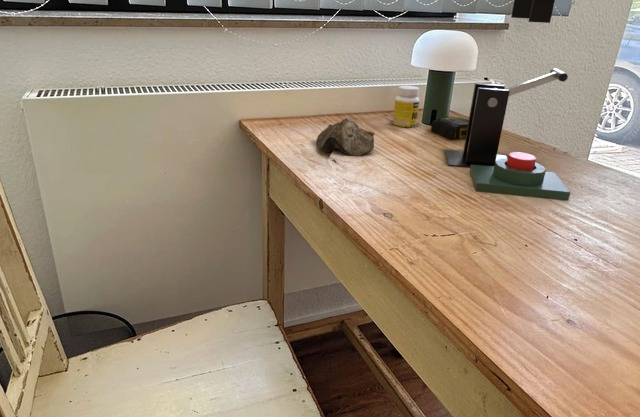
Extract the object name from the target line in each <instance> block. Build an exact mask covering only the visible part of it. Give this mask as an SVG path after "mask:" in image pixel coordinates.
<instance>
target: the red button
mask: <svg viewBox="0 0 640 417" xmlns="http://www.w3.org/2000/svg"><path fill="white" fill-rule="evenodd" d="M507 158H508V160H507V164H506V166H508V167H510V168H514V169H518V170H526V171H529V170H534V166H535V163H537V162H536V161H537V157H536V156H535V155H533V154H530V153H527V152H520V151H513V152H509V153H508V155H507Z"/></svg>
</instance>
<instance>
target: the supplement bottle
mask: <svg viewBox="0 0 640 417" xmlns="http://www.w3.org/2000/svg"><path fill="white" fill-rule="evenodd" d="M397 94H398V95H397V96H395V99H394V108H393V117H392V125H393V126H395V127H398V128H406V129H411V128H415V127H417V122H418V114H419V109H420V108H419V107H420V98H419V97H418V96H419V94H420V88H419V87H418V86H414V85H400V86H398V90H397Z"/></svg>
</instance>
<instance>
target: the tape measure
mask: <svg viewBox="0 0 640 417" xmlns="http://www.w3.org/2000/svg"><path fill="white" fill-rule="evenodd" d="M468 121H469V118H464V117H460V116H445V117H441V118H438V119H434V120H433V121H432V122H431V126H430V130H431V132H432V133H434V134H436V135H439V136H441V137H443V138H446V139H448V140H450V141H456V140H465V138H466V132H467V127H468Z"/></svg>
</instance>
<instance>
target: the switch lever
mask: <svg viewBox="0 0 640 417" xmlns="http://www.w3.org/2000/svg"><path fill="white" fill-rule="evenodd" d="M568 77H569V76H568V74H567V73H566V72H564V71H562V70H560V69H558V68H552V69H550V71H549V73H547V74H545V75H541V76H539V77H536V78H533V79H530V80H527V81H525V82H522V83H519V84H516V85H513V86H510V87H507V88H505V90H509V91H510V92H509V97H511V96H513V95H517V94H520V93H522V92H525V91H528V90H531V89H534V88H537V87H539V86H543V85H545V84H548V83H551V82H554V81H557V80H558V81H560V82H562V83H563V82H566V81H567V80H568ZM492 89H497V88H496V87H494V88H492Z"/></svg>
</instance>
